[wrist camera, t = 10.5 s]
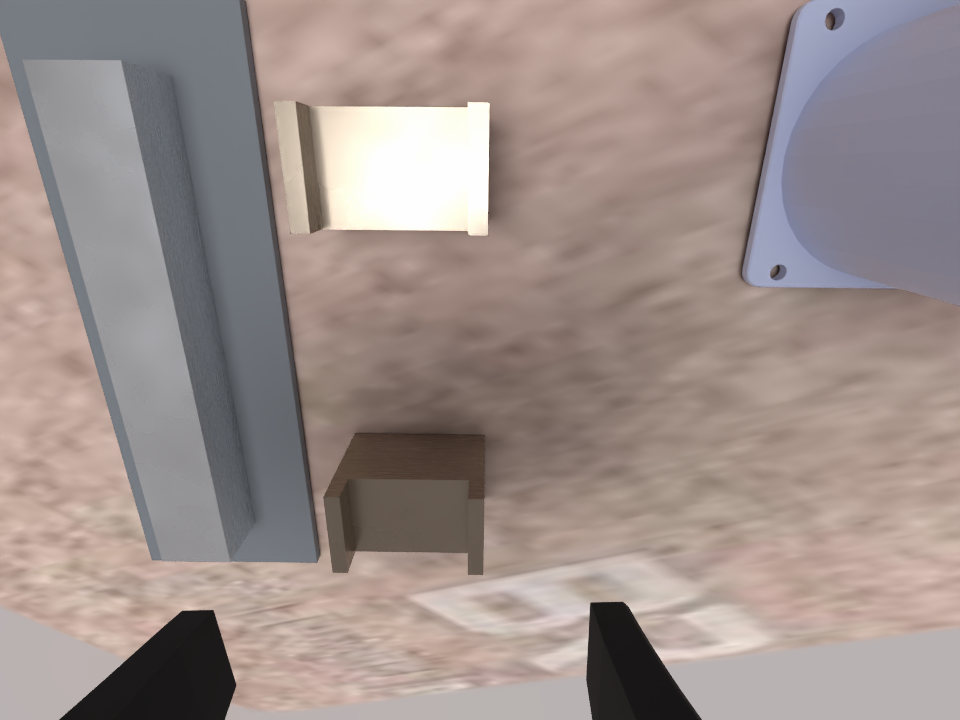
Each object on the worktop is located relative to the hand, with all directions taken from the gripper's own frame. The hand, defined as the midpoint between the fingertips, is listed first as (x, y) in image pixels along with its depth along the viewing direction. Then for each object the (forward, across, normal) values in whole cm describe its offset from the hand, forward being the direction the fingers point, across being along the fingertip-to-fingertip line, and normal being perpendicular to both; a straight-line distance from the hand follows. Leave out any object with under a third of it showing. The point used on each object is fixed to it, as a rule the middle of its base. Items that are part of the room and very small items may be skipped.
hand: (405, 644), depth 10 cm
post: (+10, +1, +2) cm, 10 cm away
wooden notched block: (+10, +1, -8) cm, 13 cm away
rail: (+10, +9, -4) cm, 13 cm away
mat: (+10, +9, -3) cm, 14 cm away
